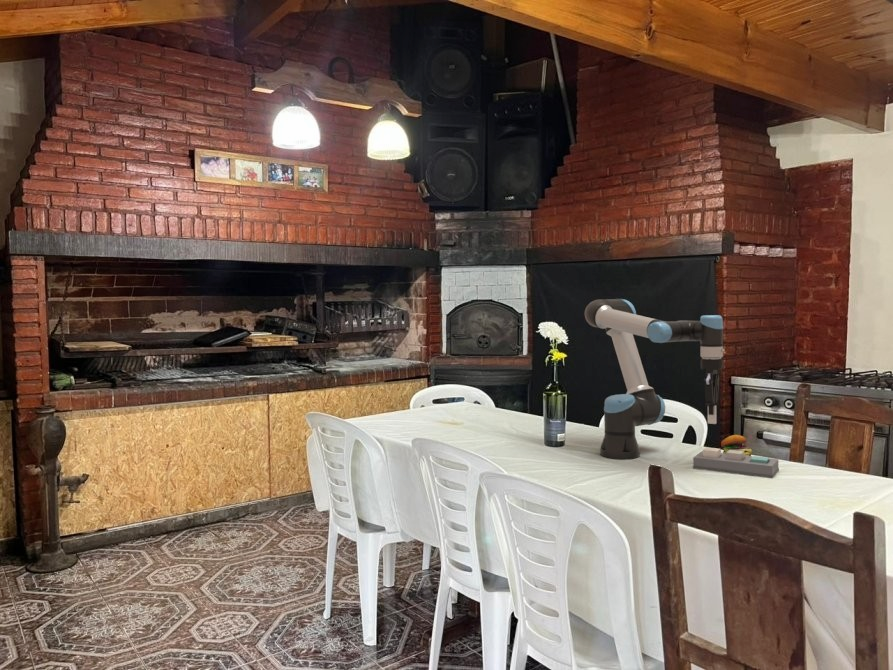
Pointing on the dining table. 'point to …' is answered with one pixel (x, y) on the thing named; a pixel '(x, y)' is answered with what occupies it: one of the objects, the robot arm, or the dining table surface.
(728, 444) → the cheeseburger
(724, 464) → the keypad base
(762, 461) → the key teal
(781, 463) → the dining table surface
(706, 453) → the key ivory
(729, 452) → the key grey
